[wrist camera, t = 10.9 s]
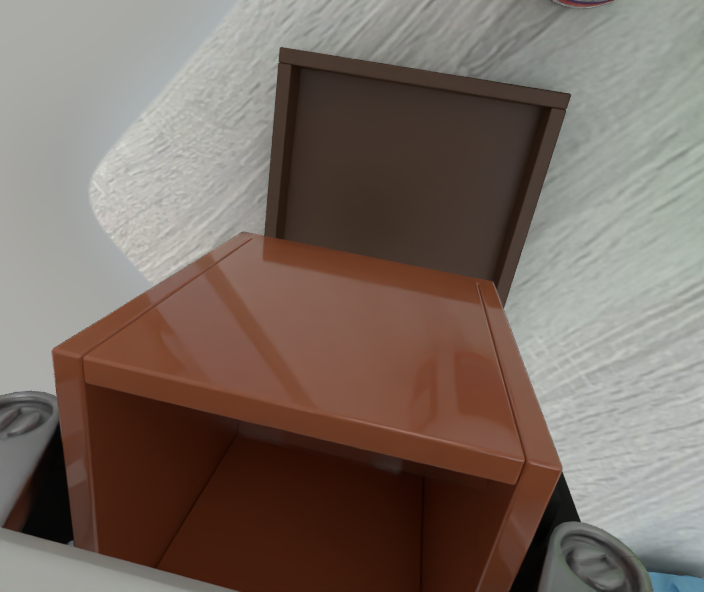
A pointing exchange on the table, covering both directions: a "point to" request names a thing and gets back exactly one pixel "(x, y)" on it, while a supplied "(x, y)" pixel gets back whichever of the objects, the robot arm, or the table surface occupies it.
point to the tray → (408, 163)
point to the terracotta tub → (306, 426)
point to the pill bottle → (582, 3)
